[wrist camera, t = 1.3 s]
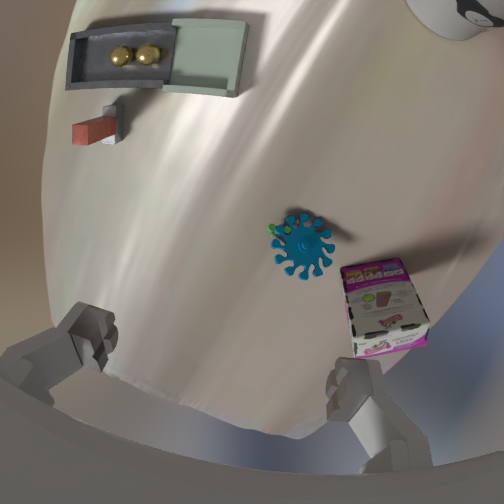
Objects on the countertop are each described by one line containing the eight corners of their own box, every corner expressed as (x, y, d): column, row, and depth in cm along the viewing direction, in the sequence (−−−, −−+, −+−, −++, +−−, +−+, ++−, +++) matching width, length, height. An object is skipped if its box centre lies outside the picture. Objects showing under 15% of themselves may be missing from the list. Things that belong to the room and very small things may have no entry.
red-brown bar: (110, 104, 40) (72, 113, 32) (124, 104, 40) (88, 113, 32) (109, 139, 43) (72, 155, 35) (123, 140, 43) (87, 156, 35)
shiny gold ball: (144, 44, 34) (133, 42, 31) (165, 44, 34) (155, 41, 31) (141, 66, 36) (130, 66, 33) (162, 66, 36) (152, 65, 33)
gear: (347, 237, 46) (317, 292, 43) (331, 245, 51) (303, 294, 49) (288, 195, 45) (253, 249, 42) (278, 208, 51) (246, 256, 48)
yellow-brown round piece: (118, 46, 34) (106, 45, 31) (138, 45, 34) (126, 43, 31) (116, 67, 36) (103, 67, 33) (135, 66, 36) (124, 66, 33)
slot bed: (81, 34, 33) (71, 33, 31) (179, 25, 33) (172, 21, 30) (76, 88, 39) (65, 90, 36) (170, 87, 38) (162, 88, 36)
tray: (180, 22, 33) (172, 18, 30) (249, 25, 33) (245, 21, 30) (170, 90, 39) (162, 91, 36) (237, 97, 38) (233, 97, 36)
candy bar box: (341, 290, 53) (352, 361, 39) (338, 267, 50) (351, 337, 36) (400, 280, 50) (426, 346, 36) (400, 256, 48) (431, 322, 34)
